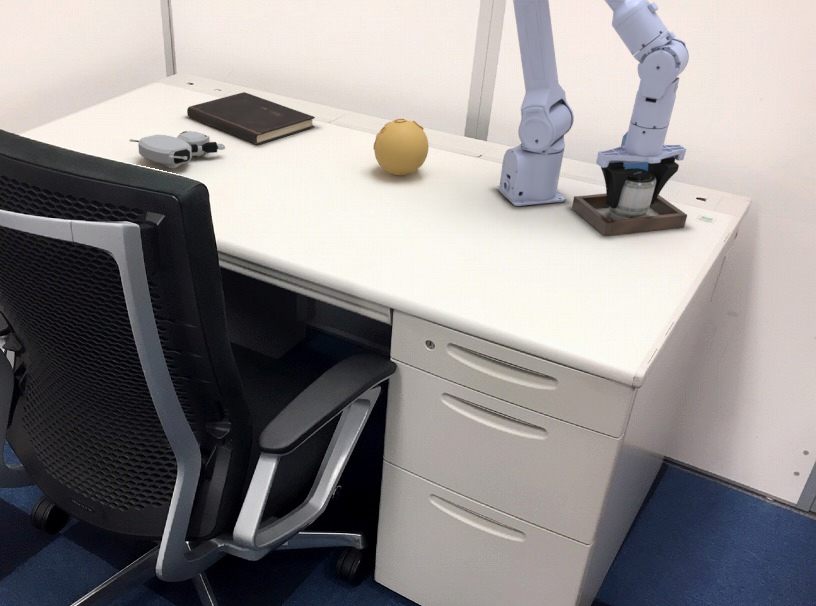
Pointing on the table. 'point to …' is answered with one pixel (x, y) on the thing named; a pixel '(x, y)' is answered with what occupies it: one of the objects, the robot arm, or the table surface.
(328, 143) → the table surface
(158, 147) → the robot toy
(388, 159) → the stress ball
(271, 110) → the hardcover book
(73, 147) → the table surface
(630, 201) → the camera lens
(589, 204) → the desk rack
